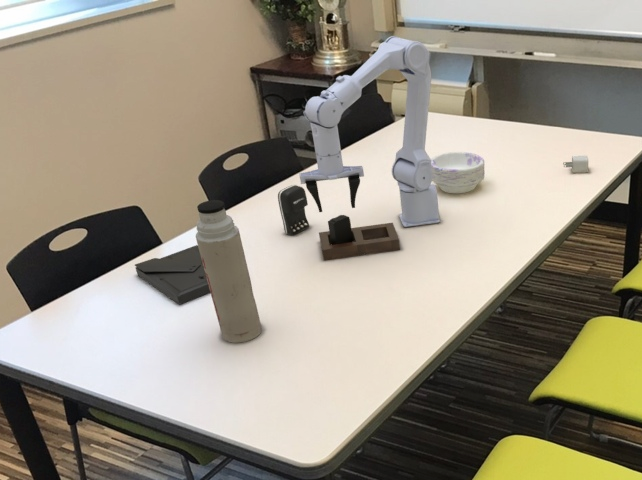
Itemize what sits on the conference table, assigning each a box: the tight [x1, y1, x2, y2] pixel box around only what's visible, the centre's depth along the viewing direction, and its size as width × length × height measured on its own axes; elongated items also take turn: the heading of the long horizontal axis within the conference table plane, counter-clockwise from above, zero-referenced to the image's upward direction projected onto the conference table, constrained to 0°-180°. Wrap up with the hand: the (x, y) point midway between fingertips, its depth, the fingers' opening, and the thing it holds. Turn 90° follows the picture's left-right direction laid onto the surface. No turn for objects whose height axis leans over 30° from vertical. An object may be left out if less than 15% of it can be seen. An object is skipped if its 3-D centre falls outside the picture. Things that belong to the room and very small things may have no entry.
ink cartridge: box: [327, 214, 353, 245], centre depth 192 cm, size 5×2×8 cm, turn 137°
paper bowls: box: [430, 151, 486, 194], centre depth 221 cm, size 15×15×8 cm
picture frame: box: [134, 244, 211, 305], centre depth 184 cm, size 16×3×21 cm
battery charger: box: [277, 184, 310, 236], centre depth 200 cm, size 7×4×11 cm, turn 146°
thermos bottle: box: [195, 199, 263, 344], centre depth 155 cm, size 8×8×28 cm
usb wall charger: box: [562, 155, 589, 174], centre depth 229 cm, size 4×7×4 cm, turn 89°
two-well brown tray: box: [318, 222, 401, 261], centre depth 194 cm, size 18×10×3 cm, turn 104°
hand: (336, 208), depth 188 cm, fingers open, 7 cm apart
